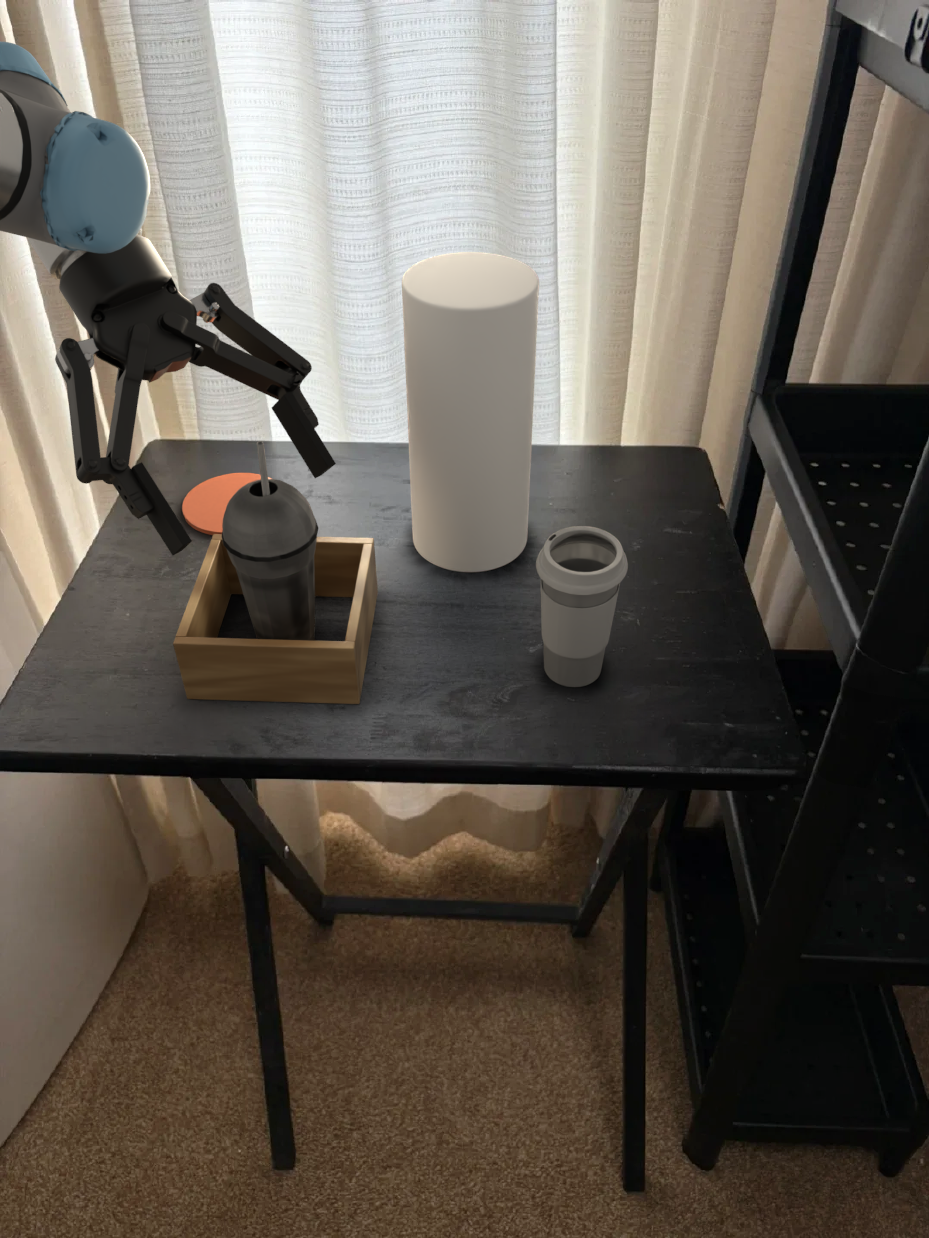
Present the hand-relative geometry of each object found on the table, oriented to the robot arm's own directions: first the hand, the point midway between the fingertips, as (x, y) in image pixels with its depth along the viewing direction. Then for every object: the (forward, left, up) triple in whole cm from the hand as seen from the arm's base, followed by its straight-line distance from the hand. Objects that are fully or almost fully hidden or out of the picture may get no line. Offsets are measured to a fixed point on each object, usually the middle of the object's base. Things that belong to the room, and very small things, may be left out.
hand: (257, 508), depth 79 cm
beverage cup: (0, -1, -13) cm, 13 cm away
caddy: (0, -1, -13) cm, 13 cm away
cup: (+14, -20, -13) cm, 28 cm away
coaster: (+9, +18, -13) cm, 24 cm away
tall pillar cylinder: (+21, -2, -13) cm, 25 cm away
